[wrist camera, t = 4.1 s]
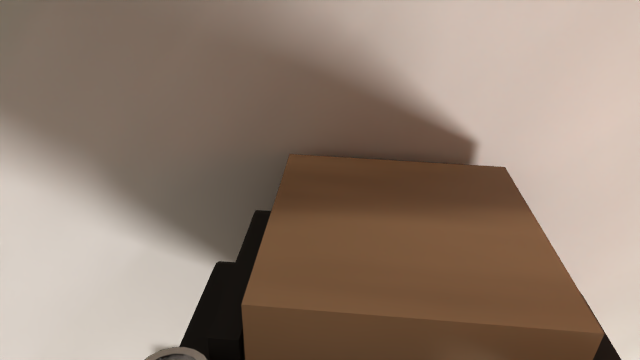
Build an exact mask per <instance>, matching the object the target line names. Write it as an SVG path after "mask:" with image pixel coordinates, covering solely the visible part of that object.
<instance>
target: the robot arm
mask: <svg viewBox="0 0 640 360" xmlns="http://www.w3.org/2000/svg"><path fill="white" fill-rule="evenodd" d="M270 214H271V211H261V210H256V211H255V213H254V215H253V218H252V220H251V223H250V226H249V228H248V231H247V234H246V236H245V239H244V242H243V244H242V247H241V249H240V252H239V255H238V257H237V260H236V263H235V262H221V261H219V262H217V263H216V265H215V267H214V269H213V271H212V273H211V275H210V278H209V280H208V282H207V285H206V287H205V289H204V291H203V294H202V296H201V298H200V301H199V303H198V305H197V307H196V310H195V312H194V314H193V317H192V319H191V321H190V323H189V326H188V328H187V330H186V333H185V335H184V337H183V339H182V342H181V344H180V346H179V347H172V348H168V349H164V350H160V351H158V352H156V353H154V354H152V355H150V356H148V357H147V358H146V359H145V360H245V349H244V335H243V321H242V307H241V304H242V301H243V298H244V295H245V292H246V288H247V285H248V282H249V279H250V276H251V273H252V270H253V267H254V264H255V260H256V257H257V254H258V251H259V248H260V245H261V242H262V239H263V236H264V233H265V229H266V226H267V223H268V220H269V217H270ZM579 292H580V291H579ZM581 295H582V294H581ZM582 297H583V295H582ZM583 298H584V297H583ZM584 300H585V299H584ZM585 302H586V300H585ZM586 303H587V302H586ZM587 305H588V304H587ZM588 307H589V305H588ZM589 308H590V307H589ZM590 310H591V309H590ZM591 312H592V310H591ZM592 313H593V312H592ZM593 315H594V314H593ZM594 317H595V315H594ZM595 318H596V317H595ZM596 320H597V319H596ZM597 322H598V320H597ZM598 323H599V322H598ZM599 325H600V324H599ZM600 327H601V325H600ZM601 328H602V327H601ZM602 330H603V329H602ZM603 332H604V330H603ZM604 333H605V332H604ZM593 360H621V358H620V357H619V355H618V353H617V352H616V350H615V349H614V347H613V345H612V344H611V342H610V340H609V339H608V337H607V335H606V334H604V336H603V338H602V340H601V343H600V345H599V347H598V349H597V351H596V354H595V356H594V358H593Z"/></svg>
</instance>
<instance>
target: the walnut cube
mask: <svg viewBox="0 0 640 360" xmlns="http://www.w3.org/2000/svg"><path fill="white" fill-rule="evenodd" d="M241 307H242V321H243V335H244V349H245V360H593V358H594V356H595V354H596V351H597V349H598V347H599V345H600V343H601V340H602V338H603V336H604V334H605V333H604V332H603V330H602V328H601V327H600V325H599V323H598V322H597V320H596V318H595V317H594V315H593V313H592V312H591V310H590V308H589V307H588V305H587V303H586V302H585V300H584V298H583V297H582V295H581V293H580V292H579V290H578V288H577V287H576V285H575V283H574V282H573V280H572V278H571V277H570V275H569V273H568V272H567V270H566V268H565V267H564V265H563V263H562V262H561V260H560V258H559V257H558V255H557V253H556V252H555V250H554V248H553V247H552V245H551V243H550V242H549V240H548V238H547V237H546V235H545V233H544V232H543V230H542V228H541V227H540V225H539V223H538V222H537V220H536V218H535V217H534V215H533V213H532V212H531V210H530V208H529V207H528V205H527V203H526V202H525V200H524V198H523V197H522V195H521V193H520V192H519V190H518V188H517V187H516V185H515V183H514V182H513V180H512V178H511V177H510V175H509V173H508V172H507V170H506V168H505V167H494V166H478V165H462V164H445V163H429V162H412V161H396V160H379V159H363V158H347V157H330V156H314V155H297V154H290V155H289V158H288V161H287V164H286V167H285V170H284V173H283V177H282V180H281V183H280V186H279V189H278V192H277V195H276V198H275V201H274V205H273V208H272V211H271V214H270V217H269V220H268V223H267V226H266V229H265V233H264V236H263V239H262V242H261V245H260V248H259V251H258V254H257V257H256V260H255V264H254V267H253V270H252V273H251V276H250V279H249V282H248V285H247V288H246V292H245V295H244V298H243V301H242V304H241Z"/></svg>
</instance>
